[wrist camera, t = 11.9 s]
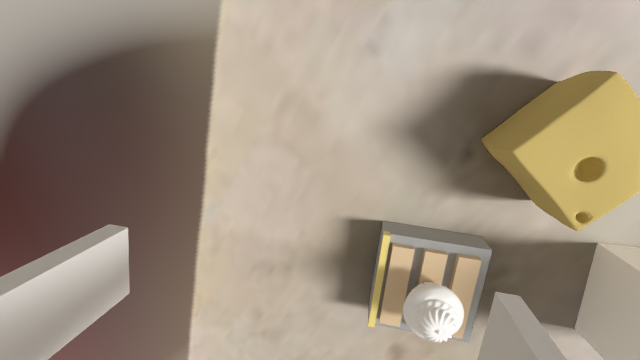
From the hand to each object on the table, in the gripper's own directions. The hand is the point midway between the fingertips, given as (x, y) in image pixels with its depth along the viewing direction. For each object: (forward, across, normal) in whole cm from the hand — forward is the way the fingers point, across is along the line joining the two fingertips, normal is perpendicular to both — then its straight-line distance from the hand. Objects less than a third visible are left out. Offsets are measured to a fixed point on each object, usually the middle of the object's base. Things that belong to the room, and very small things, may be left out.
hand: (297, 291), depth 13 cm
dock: (+32, +11, -14) cm, 36 cm away
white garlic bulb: (+27, +11, -14) cm, 32 cm away
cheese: (+32, +21, +4) cm, 38 cm away
